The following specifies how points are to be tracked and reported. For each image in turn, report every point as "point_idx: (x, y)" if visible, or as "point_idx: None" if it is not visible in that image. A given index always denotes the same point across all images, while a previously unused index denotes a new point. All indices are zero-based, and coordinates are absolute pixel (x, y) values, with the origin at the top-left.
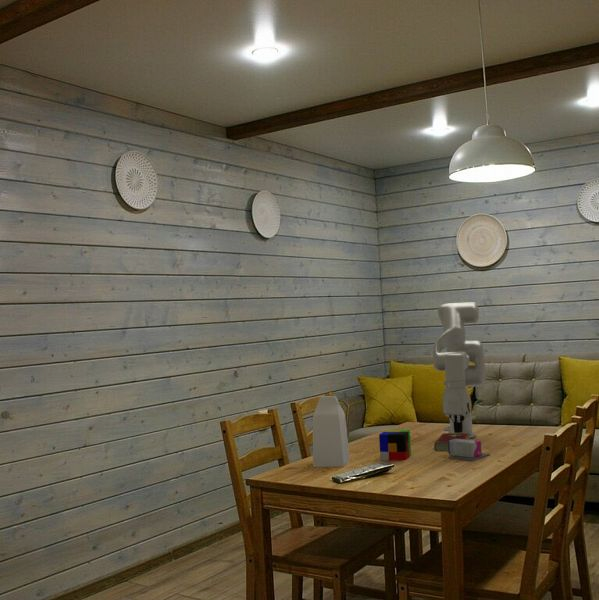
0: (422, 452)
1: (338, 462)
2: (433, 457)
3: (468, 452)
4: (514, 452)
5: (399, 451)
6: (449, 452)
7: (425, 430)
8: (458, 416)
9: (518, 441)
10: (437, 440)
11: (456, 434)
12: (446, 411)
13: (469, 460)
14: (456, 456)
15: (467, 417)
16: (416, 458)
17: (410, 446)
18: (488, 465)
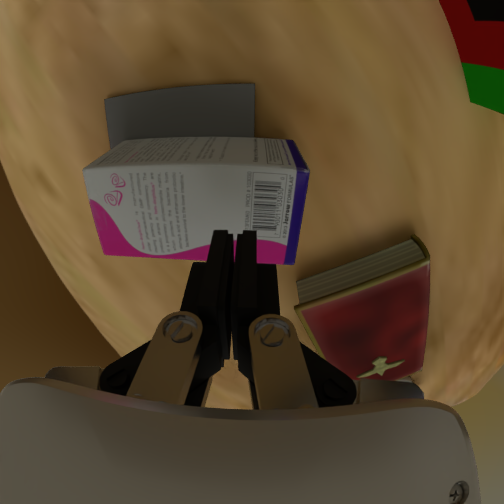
0: (451, 180)
1: None
2: (357, 79)
3: (140, 144)
4: (116, 316)
5: None
6: (288, 142)
7: (456, 385)
8: (157, 388)
9: (220, 402)
10: (426, 292)
11: (379, 378)
12: (401, 448)
13: (118, 96)
14: (227, 123)
15: (58, 368)
16: (419, 34)
17: (499, 109)
18: (19, 89)
